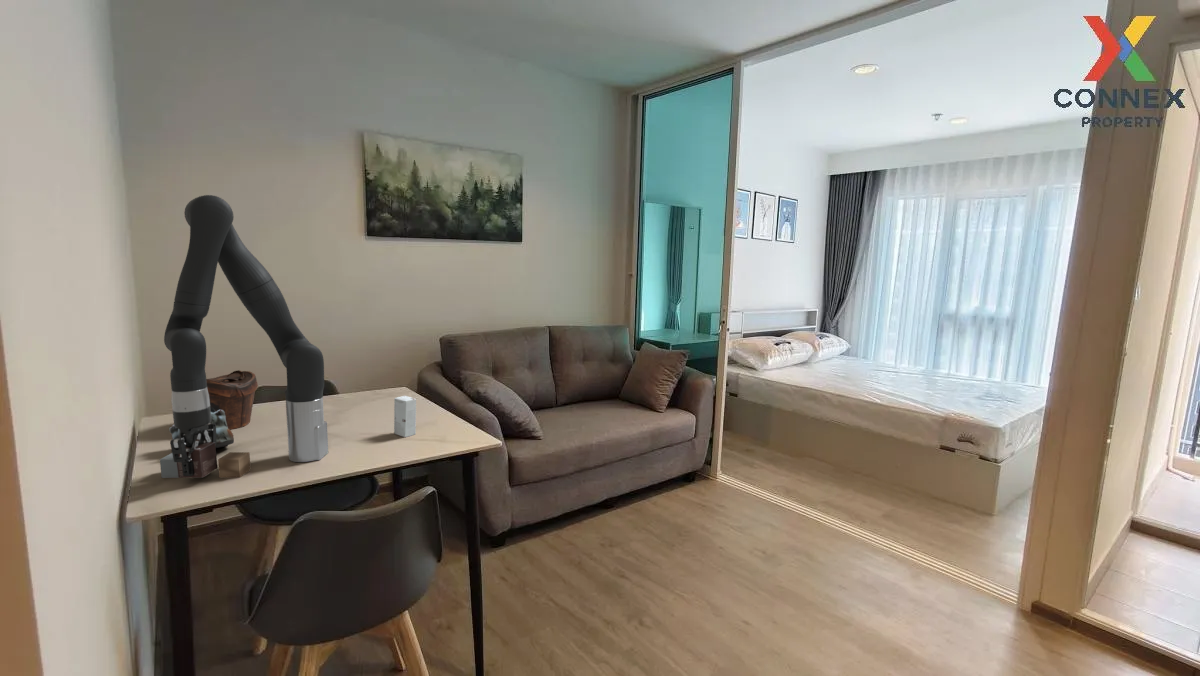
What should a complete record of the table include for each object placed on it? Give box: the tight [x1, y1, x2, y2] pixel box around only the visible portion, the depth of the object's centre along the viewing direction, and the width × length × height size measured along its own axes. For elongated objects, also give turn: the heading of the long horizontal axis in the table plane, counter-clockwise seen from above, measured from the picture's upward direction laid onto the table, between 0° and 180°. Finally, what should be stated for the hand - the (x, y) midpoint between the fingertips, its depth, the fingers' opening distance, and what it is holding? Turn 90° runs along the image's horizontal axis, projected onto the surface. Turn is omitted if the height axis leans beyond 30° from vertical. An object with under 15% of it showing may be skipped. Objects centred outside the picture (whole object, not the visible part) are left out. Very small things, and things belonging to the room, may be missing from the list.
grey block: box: [159, 452, 180, 479], centre depth 140 cm, size 5×5×5 cm
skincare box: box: [393, 395, 417, 438], centre depth 175 cm, size 6×4×12 cm
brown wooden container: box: [206, 369, 259, 430], centre depth 178 cm, size 18×20×18 cm
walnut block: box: [217, 451, 252, 479], centre depth 141 cm, size 5×5×5 cm
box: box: [177, 442, 219, 479], centre depth 136 cm, size 6×6×7 cm
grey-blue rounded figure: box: [169, 407, 235, 449], centre depth 155 cm, size 15×12×14 cm
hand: (197, 469), depth 137 cm, fingers closed on box, 6 cm apart
